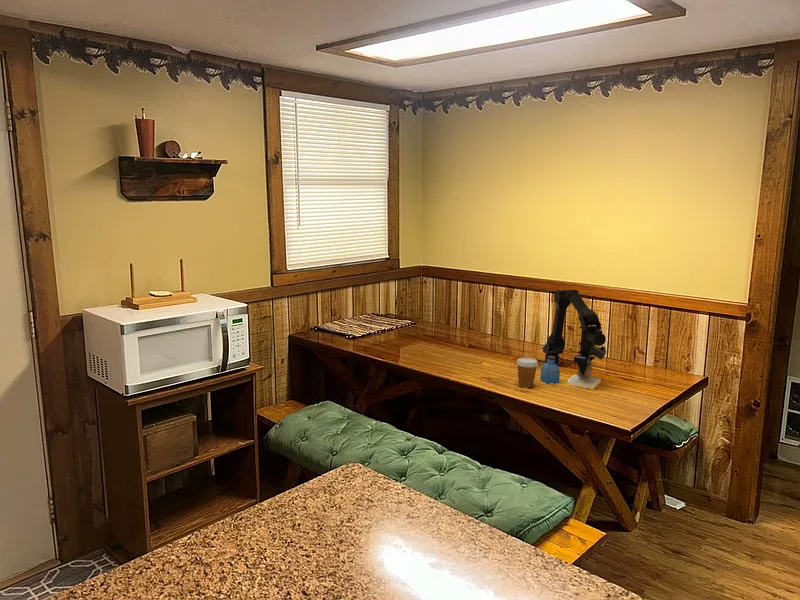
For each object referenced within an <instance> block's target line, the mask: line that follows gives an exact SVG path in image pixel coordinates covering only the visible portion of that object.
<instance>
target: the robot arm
mask: <svg viewBox="0 0 800 600" xmlns="http://www.w3.org/2000/svg"><path fill="white" fill-rule="evenodd" d="M553 301H554V305H555V311H554V312H555V313H554V319H553V326H552V332H551V334H550V335H549V336H547V339H546V342H545V344H544V345H543V347H542V353H544V354H545V358H544V363H548V362H547V359H548V356H554V357H555V358H554V359H555V362H554V364H556V365H557V366H558V367H559V366H560V365H561V356H560V354H561V355H562V354H563V353H564V350H565V346H566V345H565V343H566V340H565V339H564V337H563V331H564V326H565V319H566V315H567V314H566V313H567V309H568V308H569V306H570V305H571V304H572V306H573V307H574V309H575V311H576V312H577V313H578V317H577V319H578V321H579V323H580V326H579V327H578V328H579V329H581V330H580V341H579V342H578V343H579V344H578V345H579V351H578V353H577V354H576V355H575V356H574V357H573V363H576V364H577V367H579V369H580V372H581V374H582V375H584V374H585V371H586V367H587V364H589V363H592V361H593V360H595V359H596V358H598V359H599V360H603V359H604V358H605V356H606V354H607V350H606V346H604V344H605V343H606V340H607V338H606V335H605V334H604V333H603V330H602V323H601V322H600V318H599V316H598V313H596V312H595V311H594V310H593V309H591V308H589V307H588V305H587V304H586V303H585V301H584V299H583V298H582V297H581V294H579V290H577V289H557V290H555V291H554V294H553Z"/></svg>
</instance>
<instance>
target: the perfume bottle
mask: <svg viewBox="0 0 800 600" xmlns="http://www.w3.org/2000/svg"><path fill="white" fill-rule="evenodd" d="M554 358H555V357H554V356H548V359H547V362H548V363H545V362H544V363H543V364H542V366H541V367H540V379H539V380H541V382H542V381H543V382H542V383H544V382H545V383H546V384H545V383H544V384H545V385H547V384H548V385H551V384H550V383H559V384H560V376H561V370H560V368H559V365H558V366H557V365H556V364H554V362H555V359H554Z"/></svg>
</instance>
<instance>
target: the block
mask: <svg viewBox="0 0 800 600" xmlns="http://www.w3.org/2000/svg"><path fill="white" fill-rule="evenodd" d="M577 367H578V366H577ZM577 374H578V376H577V377H582V378H588V379H589V378H590V377H592V374H593V362H591V363H589V364H587V367H586V371H585V374H584V375H582V374H581V372H580V369H579V367H578V368H577Z"/></svg>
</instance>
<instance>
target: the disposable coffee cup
mask: <svg viewBox="0 0 800 600" xmlns="http://www.w3.org/2000/svg"><path fill="white" fill-rule="evenodd" d="M516 365H517V377H518V387H520V386H522V387H532V388H533V387H534V385H535V384H534V382H535V379H536V372H537V368H538V365H539V363H538V360H537V359H535V358H531V357H519V358H517V361H516ZM522 387H521V388H522Z"/></svg>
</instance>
